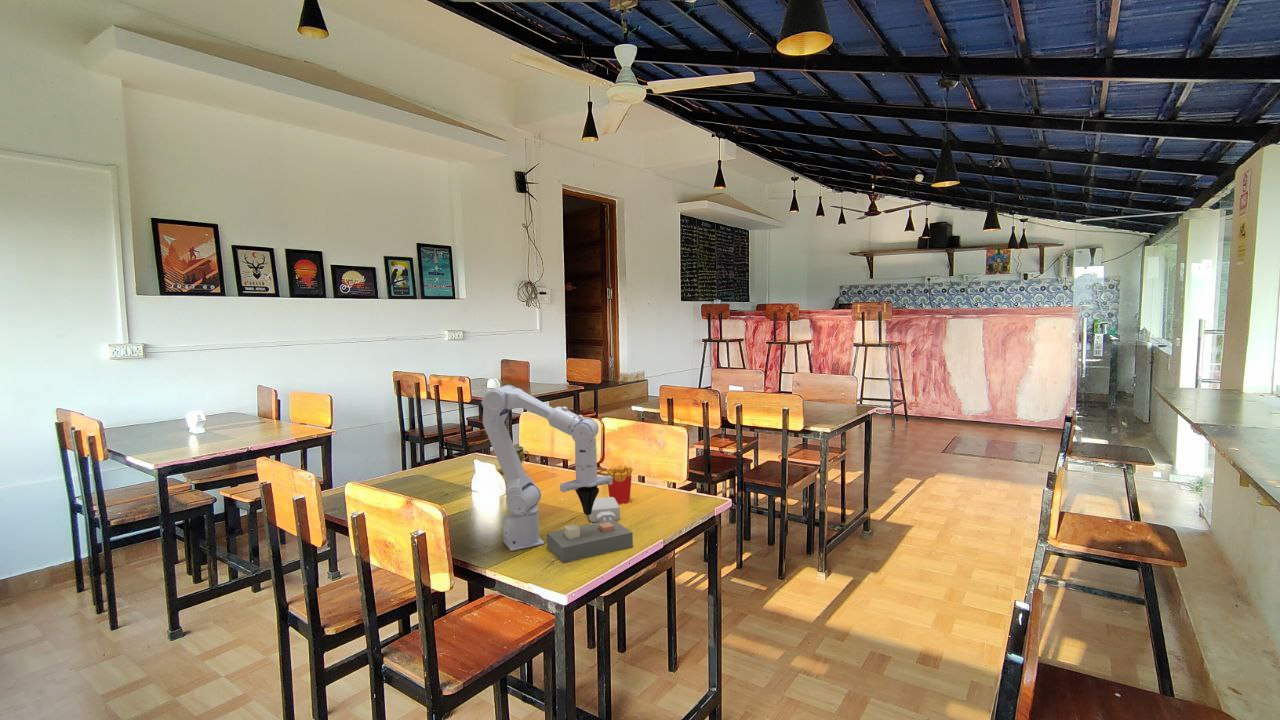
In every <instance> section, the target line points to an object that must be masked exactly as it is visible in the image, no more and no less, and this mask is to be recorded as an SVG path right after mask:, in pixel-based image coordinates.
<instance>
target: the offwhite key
mask: <svg viewBox="0 0 1280 720" xmlns="http://www.w3.org/2000/svg"><path fill="white" fill-rule="evenodd" d="M563 529H564V537H565V538H566V539H568V540H571V539H576V538H580V528H579V527H578V525H577V524H570V525H564V526H563Z"/></svg>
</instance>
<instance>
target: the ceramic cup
mask: <svg viewBox="0 0 1280 720" xmlns="http://www.w3.org/2000/svg"><path fill="white" fill-rule="evenodd" d="M514 447H515V450H516V452H517V455H518V457H519V459H520V462H521V464H523V463H524V462H525V460H526V459H528V458H529V457H530V453H529V452H528V450H524V447H523V446H521V445H514ZM524 453H525V454H526V453H527V456H526V457H525V458H523V455H524ZM501 471H502V470H501ZM502 473H503V471H502Z"/></svg>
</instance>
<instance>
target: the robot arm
mask: <svg viewBox="0 0 1280 720" xmlns="http://www.w3.org/2000/svg"><path fill="white" fill-rule="evenodd" d="M480 403H481V406H482V408H483V409H482V425H483V427H484V429H485V433H486V435H487V437H488V440H489V442H490V444H491V447H492V449H493V451H494V454H495V457H496V459H497V461H498V464H499V466H500V468H501V471H503V472H502V474H503V473H504V474H503V476H504V478H505V481H506V487H505V495H506V499H507V501H506V504H507V508H508V510H509V511H510V513H508V514H505V515H503V518H502V526H503V539H502V541H503V543H504V545H505V546H506V547H507V548H508V549H509V550H510V551H511V552H515V551H517V550H521V549H522V550H523V549H527V548H533V547H537V546H543V545H545V541H544V540H543V539H542V538H540V525H539V524H540V522H539V521H540V520H539V519H540V518H539V507H538V503H540V500H541V499H542V491H541V489H540V488H539V486H538V485H536V483H534V481H533V478H532V477H531V476H529V475H527V473H526V472H525V469H524V467H523V463H521V462H520V459H519V457H518V455H517V452H516V450H515V447H514V446H515V444H514V443H513V441H512V438H511V436H510V433H509V431H508V429H507V428H508V427H507V426H506V423H505V422H506V419H507V417H508V415H509V413H510V412H511V411H512V410H515V409H523V410H525V411H528V412H530V413H533V414H535V415H536V416H539V417H542V418H544V419H546V420H547V422H548V424H549V426H550V427H553V428H555V429H557V430H558V431H560V432H562V433H564V434H566V435H569V436H571V438H572V440H573V441H574V454H575V455H574V456H575V457H574V458H575V459H574V462H575V479H573V480H570V481H565V482H562V483H559V491H560V492H561V493H566V492H569V491H575V493H576V494H577V497H578V499H579V500H580V504H581V507H582V511H583V514H584V515H585V516H588V515H591V512H592V507H593V504H594V501H595V498H597V496H598V494H599V492H600V488H599V487H598V486H604V485H605V486H606V485H608V484H609V485H610V484H613V482H612V477H611V476H608V475H603V476H601V475H600V476H598V459H597V458H598V457H597V437H596V436H597V435H598V433H599V430H600V429H599V424H598V423H597V421H595V420H594V419H593V418H592V417H584V416H583V415H582V414H576V413H574V412H572V411H570V410H569V409H568V407H567V406H556V407H552V406H550V405H548V404H547V403H545V402H543V401H541V400H539V399H538V398H536V397H534V396H532V395H530V394H529V393H527V392H526V391H524V390H523V389H521V388H519V387H515V386H514V385H511V384H505V385H502V386H501V387H496V388H492V389H489V390H488V391H486V393H485V394H484V396H483V398H482V400H481V401H480Z"/></svg>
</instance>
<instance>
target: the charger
mask: <svg viewBox="0 0 1280 720" xmlns="http://www.w3.org/2000/svg"><path fill="white" fill-rule="evenodd" d="M587 516H588V518H589V521H590V523H598V522H603V521H608V520H612V519H614V520H615V521H619V520H620V519H621V507H620V504H618V503H617V501H616V499H615V498H614V497H609V496H605V497H596V498H595V501H594V504H593V507H592V512H591V515H587Z"/></svg>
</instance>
